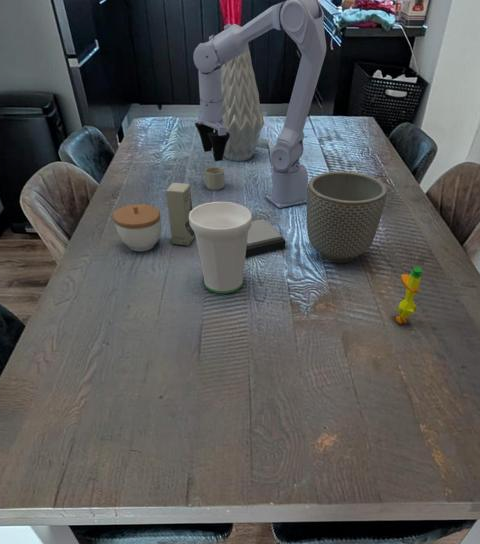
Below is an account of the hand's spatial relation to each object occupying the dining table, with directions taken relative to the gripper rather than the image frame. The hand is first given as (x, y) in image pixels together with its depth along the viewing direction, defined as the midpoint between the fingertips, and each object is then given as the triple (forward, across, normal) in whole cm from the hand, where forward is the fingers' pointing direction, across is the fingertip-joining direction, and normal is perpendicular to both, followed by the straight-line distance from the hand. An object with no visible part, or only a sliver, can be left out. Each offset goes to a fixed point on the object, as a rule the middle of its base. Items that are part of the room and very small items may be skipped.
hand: (213, 155), depth 134 cm
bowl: (+9, 0, 0) cm, 9 cm away
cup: (+8, +49, -19) cm, 53 cm away
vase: (+9, -20, +17) cm, 28 cm away
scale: (+8, +35, -5) cm, 36 cm away
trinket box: (+9, +25, -30) cm, 40 cm away
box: (+9, +27, -20) cm, 34 cm away
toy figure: (+8, +77, +8) cm, 78 cm away
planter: (+8, +49, +11) cm, 51 cm away
